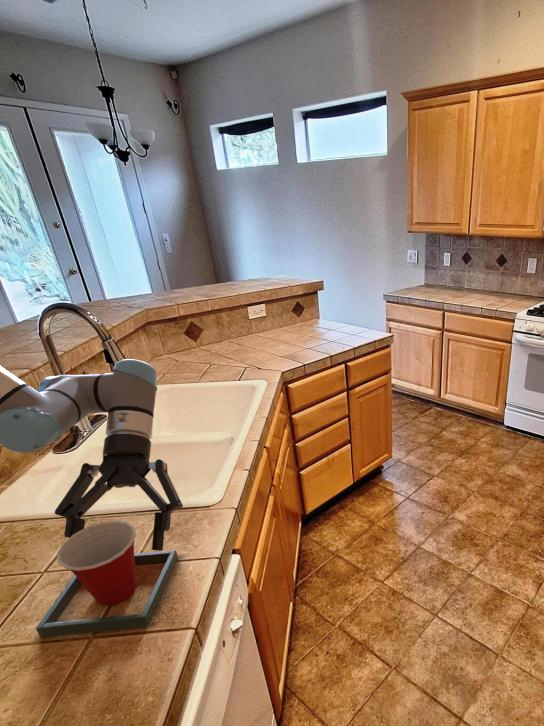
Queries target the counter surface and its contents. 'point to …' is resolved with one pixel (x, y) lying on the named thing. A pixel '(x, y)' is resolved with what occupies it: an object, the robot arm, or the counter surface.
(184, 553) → the counter surface
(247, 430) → the counter surface
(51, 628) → the grey square frame
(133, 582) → the plastic cup
